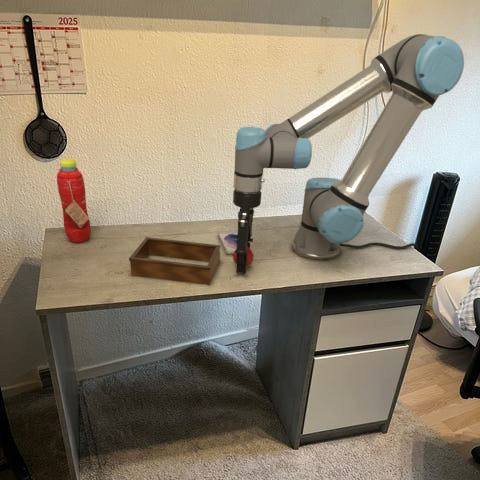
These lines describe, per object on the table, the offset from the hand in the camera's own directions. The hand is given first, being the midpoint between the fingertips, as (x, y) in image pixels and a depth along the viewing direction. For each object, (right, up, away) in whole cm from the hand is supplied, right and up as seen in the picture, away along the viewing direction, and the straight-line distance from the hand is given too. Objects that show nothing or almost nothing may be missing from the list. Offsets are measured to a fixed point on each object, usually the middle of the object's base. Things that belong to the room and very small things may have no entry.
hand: (242, 267), depth 138 cm
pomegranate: (0, 0, 0) cm, 0 cm away
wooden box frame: (-19, 0, 0) cm, 19 cm away
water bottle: (-52, +9, +12) cm, 54 cm away
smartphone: (-3, +9, +15) cm, 18 cm away
